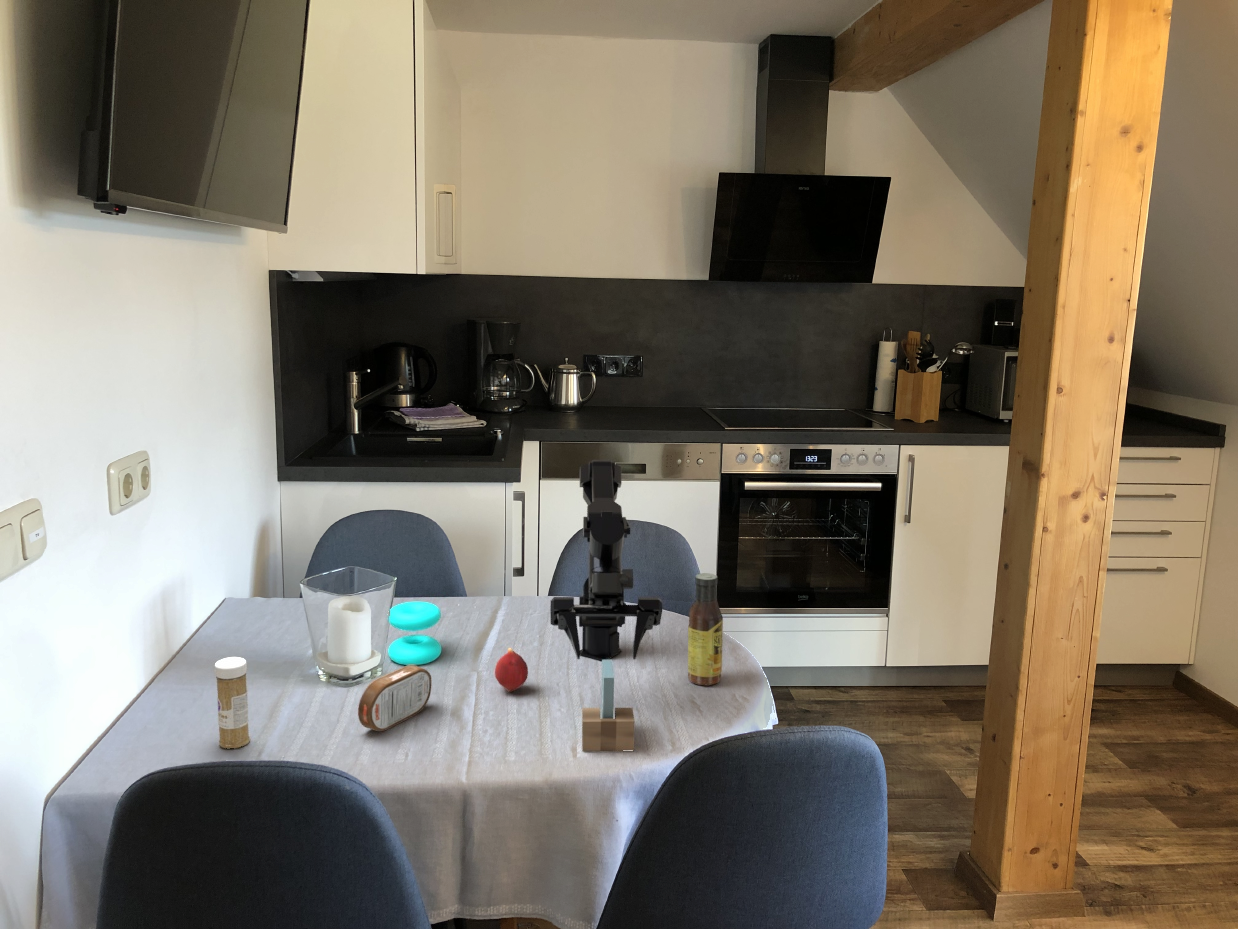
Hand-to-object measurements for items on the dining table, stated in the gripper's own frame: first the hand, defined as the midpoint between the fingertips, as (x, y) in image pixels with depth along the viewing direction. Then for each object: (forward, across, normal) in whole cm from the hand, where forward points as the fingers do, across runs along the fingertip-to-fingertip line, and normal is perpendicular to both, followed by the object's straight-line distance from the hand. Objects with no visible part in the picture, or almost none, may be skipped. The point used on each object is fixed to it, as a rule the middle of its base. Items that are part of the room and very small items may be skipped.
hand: (606, 658), depth 162 cm
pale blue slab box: (+11, 0, +4) cm, 12 cm away
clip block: (+14, 0, +2) cm, 14 cm away
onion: (-1, -16, +16) cm, 23 cm away
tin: (+8, -34, +8) cm, 36 cm away
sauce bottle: (-4, +19, +20) cm, 28 cm away
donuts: (-12, -36, +28) cm, 47 cm away
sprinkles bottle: (+13, -58, +3) cm, 60 cm away
